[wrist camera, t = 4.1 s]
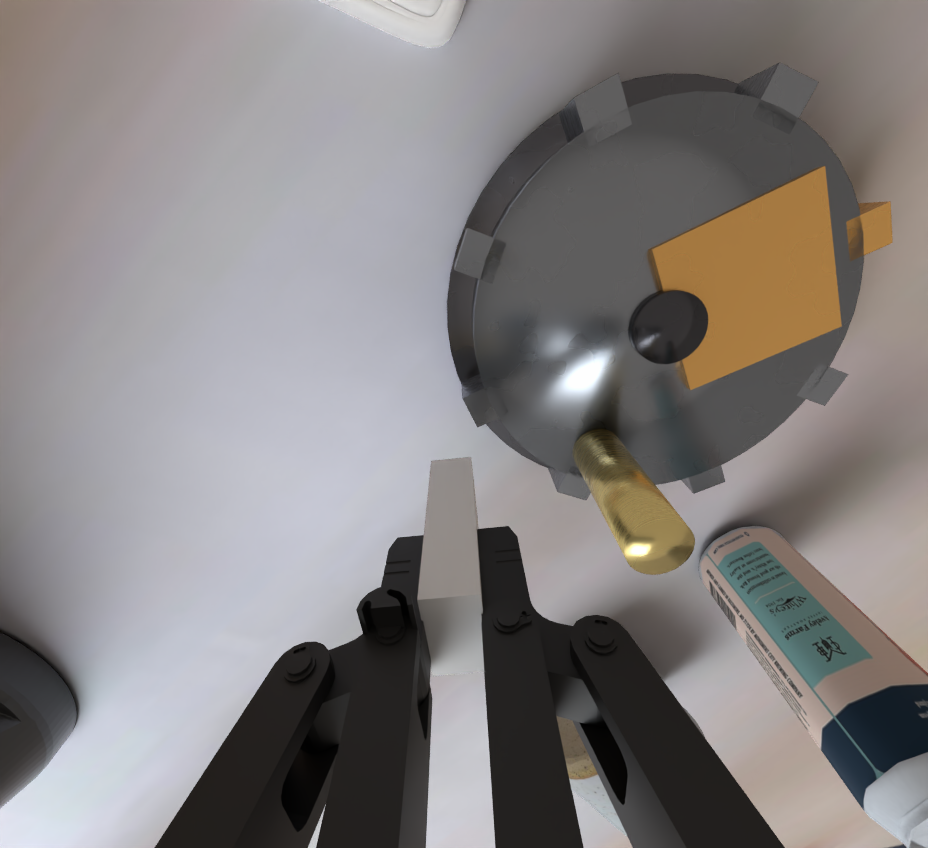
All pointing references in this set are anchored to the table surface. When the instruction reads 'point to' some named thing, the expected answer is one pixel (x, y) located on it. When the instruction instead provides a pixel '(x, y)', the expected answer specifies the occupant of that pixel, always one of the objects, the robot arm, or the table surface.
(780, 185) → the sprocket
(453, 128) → the table surface
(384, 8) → the calculator
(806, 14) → the table surface
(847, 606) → the beer can
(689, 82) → the hub plate
